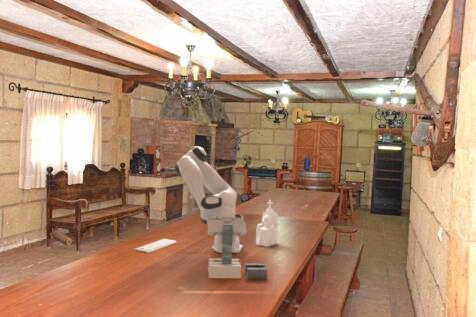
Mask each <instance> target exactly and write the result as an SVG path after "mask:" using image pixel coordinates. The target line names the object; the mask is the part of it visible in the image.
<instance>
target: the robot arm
mask: <svg viewBox="0 0 476 317" xmlns="http://www.w3.org/2000/svg"><path fill="white" fill-rule="evenodd" d="M174 171H175V173H176V174H177V175H178V176H179V177H180V178H182V179H183V181H184V183H185V185H186V186H187V188H188V190H189V192H190V193H191V195H192V197H193V199H194V202H195V204H196V205H197V207H198V210H199V214H200V215H199V217H200V221H201V222H202V223H203V224H204V225H207V233H206V234H207V235H208V236H214V239H213V240H214V241H213V245H212V247H211V249H212V250H213V251H214V252H216V253H219V254H220V253H221V254H222V241H223V238H222V234H223V224H233V240H232V254H234V253H237V254H239V253H240V252H241V250H242V249H243V246H244V245H243V244H240V237H239V236H246V234H247V225H246V221H245V220H244V215H242V214H241V213H240V214H239V213H236V208H237V207H236V206H237V205H236V202H237V198H238V195H237V192H236V191H235V190H234V188H233V187H231V185H230V184H228V182H226V180H224V179H223V178H222V177H221V176H220V174H219V173H218V172H217V171H216V170H215V169H214V167H212V166H211V165H210V164H209V163H208V154H207V152H206V151H205V149H204V148H203V147H201V146H199V145H196V146H194V147H193V148H191V149H190V150H189V151H188V152H187V153H185V154H184V155H183V156H182V157H180V158H179V160H178V161H177V162H176V164H175V166H174ZM204 186H205V187H206V189H208V191H209V192H211V193H212V194H213V195H206V194H205V190H204Z"/></svg>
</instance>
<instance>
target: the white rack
mask: <svg viewBox="0 0 476 317" xmlns="http://www.w3.org/2000/svg"><path fill="white" fill-rule="evenodd" d="M232 260H234V261H235V263H232V264H222V262H214V258H208V267H207V268H208V279H242V278H241V277H242V265H241V262H240V259H239V258H232Z"/></svg>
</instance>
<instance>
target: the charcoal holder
mask: <svg viewBox="0 0 476 317" xmlns="http://www.w3.org/2000/svg"><path fill="white" fill-rule="evenodd" d="M244 275H245V277H246V280H251V281H252V280H254V281H255V280H256V281H257V280H259V281H261V280H265V281H266V280H268V268H267V267H266V264H265V263H264V262H263V263H262V262H261V263H259V262H258V263H257V262H256V263H255V262H254V263H253V262H248V263H247V262H245V264H244Z"/></svg>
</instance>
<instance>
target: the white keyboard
mask: <svg viewBox="0 0 476 317" xmlns="http://www.w3.org/2000/svg"><path fill="white" fill-rule="evenodd" d="M176 243H177V241H176V240H175V239H168V238H162V239H159V240H156V241H154V242H151V243H147V244H145V245H142V246H139V247H137V248H136V247H135V248H134V251H136V252H141V253H147V254H151V253H153V252H155V251H158V250H160V249H163V248H165V247H169V246H171V245H173V244H176Z"/></svg>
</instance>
